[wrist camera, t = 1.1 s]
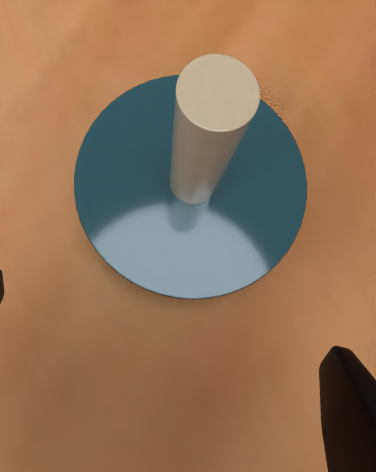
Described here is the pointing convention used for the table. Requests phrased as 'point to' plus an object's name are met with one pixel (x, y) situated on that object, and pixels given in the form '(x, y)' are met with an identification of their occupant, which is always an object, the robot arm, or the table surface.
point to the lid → (191, 182)
